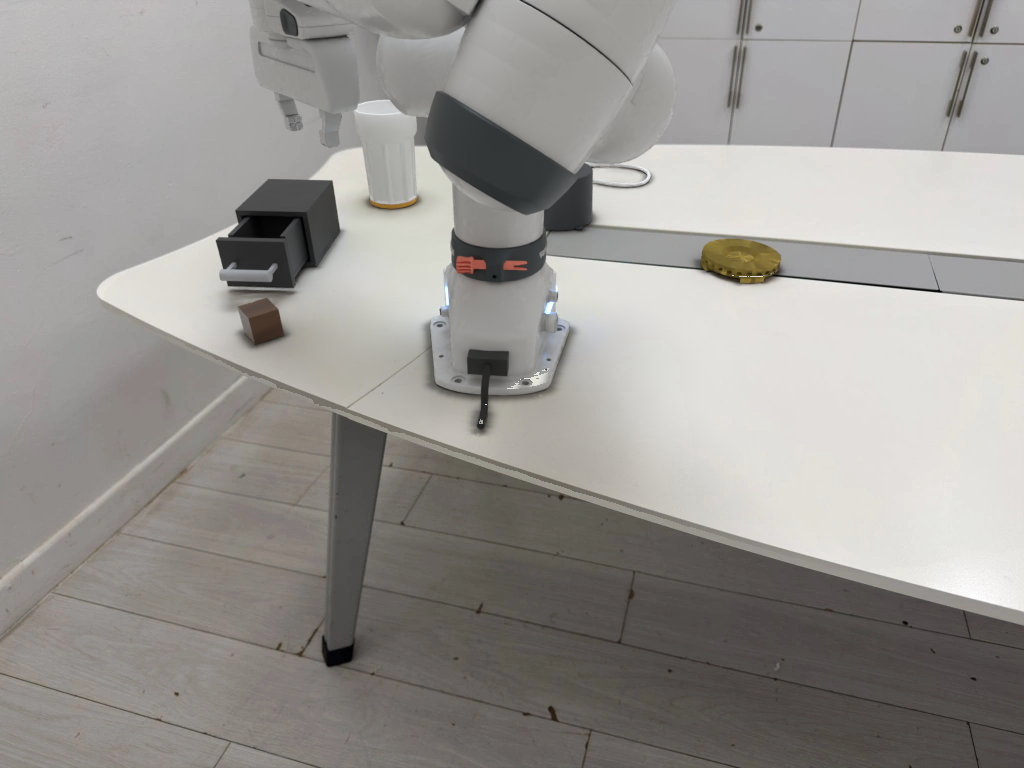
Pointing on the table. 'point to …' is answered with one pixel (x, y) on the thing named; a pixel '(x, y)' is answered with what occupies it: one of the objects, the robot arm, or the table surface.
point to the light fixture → (572, 204)
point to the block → (261, 320)
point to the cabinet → (299, 210)
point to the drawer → (263, 252)
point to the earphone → (621, 183)
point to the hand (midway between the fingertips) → (312, 137)
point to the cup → (388, 153)
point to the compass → (740, 259)
